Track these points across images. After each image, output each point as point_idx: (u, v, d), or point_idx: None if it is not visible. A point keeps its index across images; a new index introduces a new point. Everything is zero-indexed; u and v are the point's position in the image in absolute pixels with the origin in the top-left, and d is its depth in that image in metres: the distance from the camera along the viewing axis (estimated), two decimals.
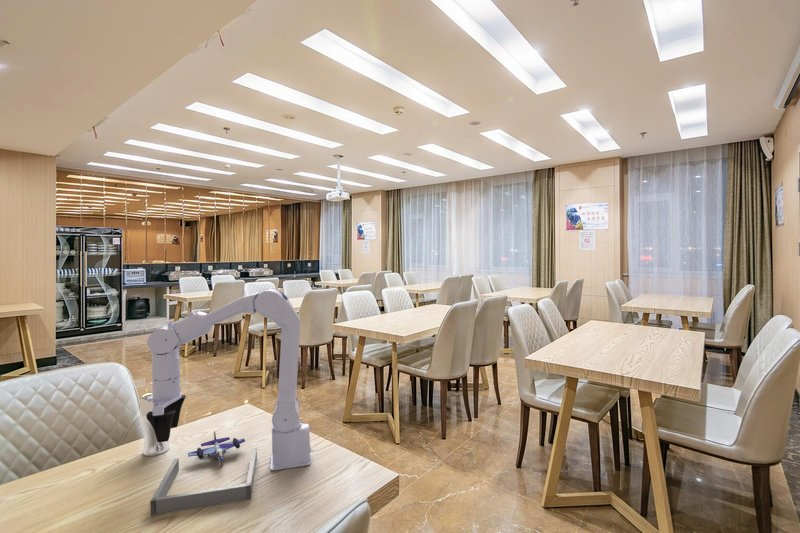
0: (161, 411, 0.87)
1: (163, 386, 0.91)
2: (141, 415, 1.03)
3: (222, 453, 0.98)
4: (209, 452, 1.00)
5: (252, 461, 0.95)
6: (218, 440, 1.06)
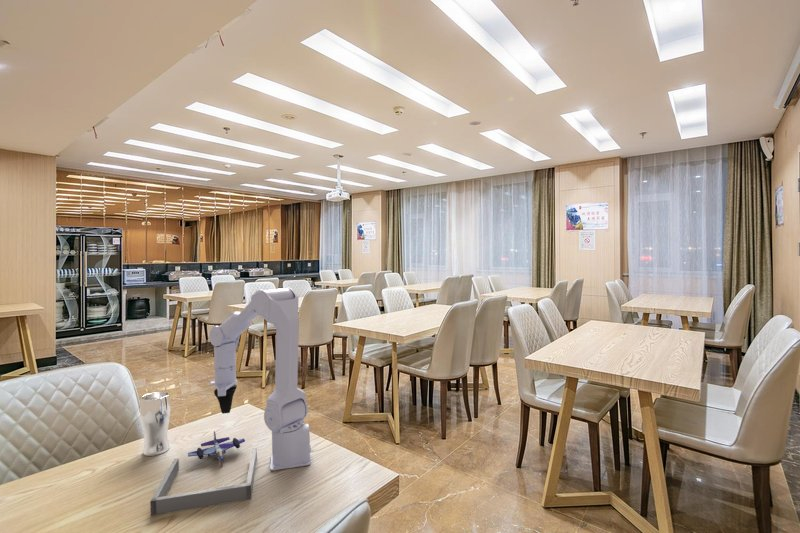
0: (224, 393, 1.08)
1: (224, 373, 1.12)
2: (141, 415, 1.03)
3: (222, 453, 0.98)
4: (209, 452, 1.00)
5: (252, 461, 0.95)
6: (218, 440, 1.06)
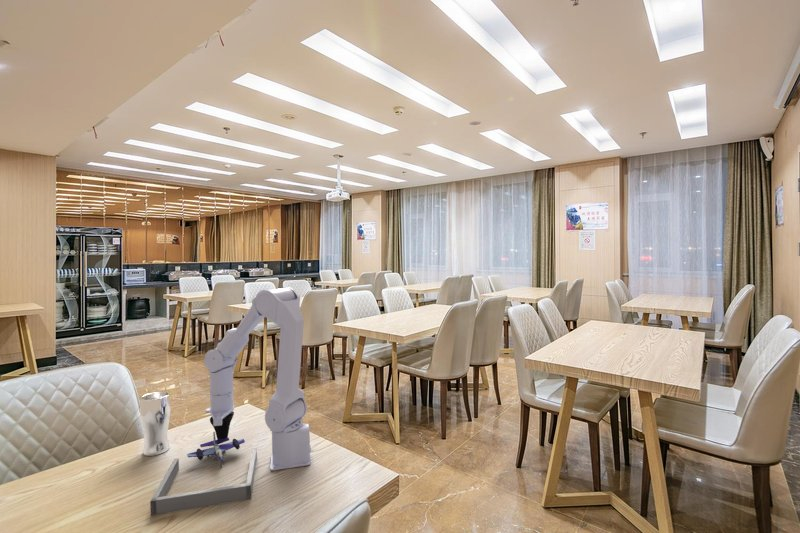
0: (220, 422, 1.01)
1: (220, 400, 1.05)
2: (141, 415, 1.03)
3: (222, 454, 0.98)
4: (209, 453, 0.99)
5: (252, 461, 0.95)
6: (218, 441, 1.06)
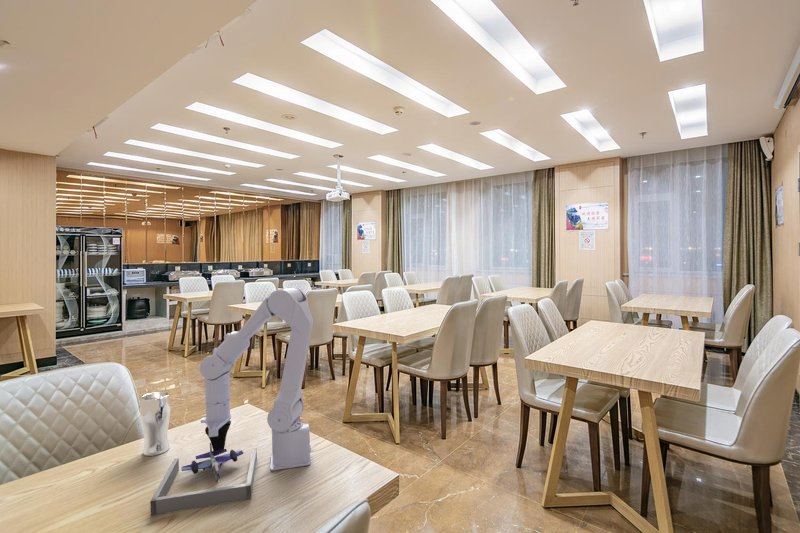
0: (216, 433, 0.95)
1: (216, 409, 0.99)
2: (141, 415, 1.03)
3: (218, 467, 0.92)
4: (204, 466, 0.93)
5: (252, 461, 0.95)
6: (214, 452, 1.00)
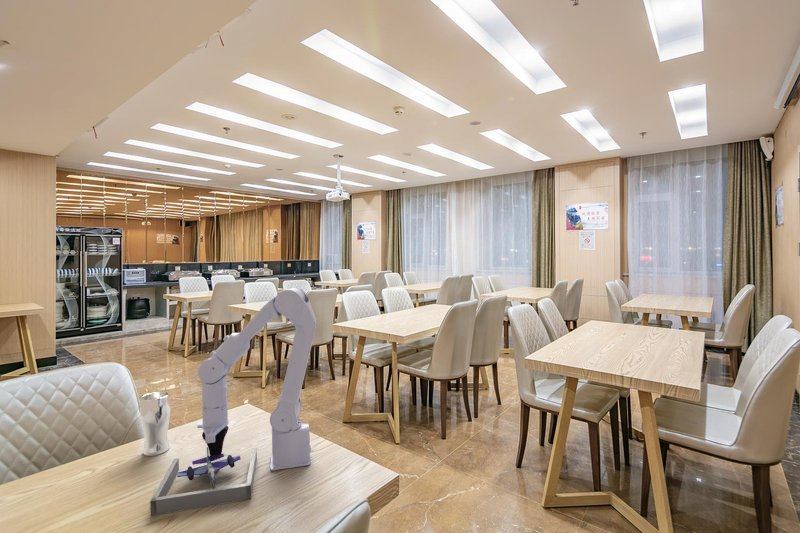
0: (213, 439, 0.92)
1: (213, 414, 0.96)
2: (141, 415, 1.03)
3: (214, 474, 0.89)
4: (200, 472, 0.90)
5: (252, 461, 0.95)
6: (211, 457, 0.97)
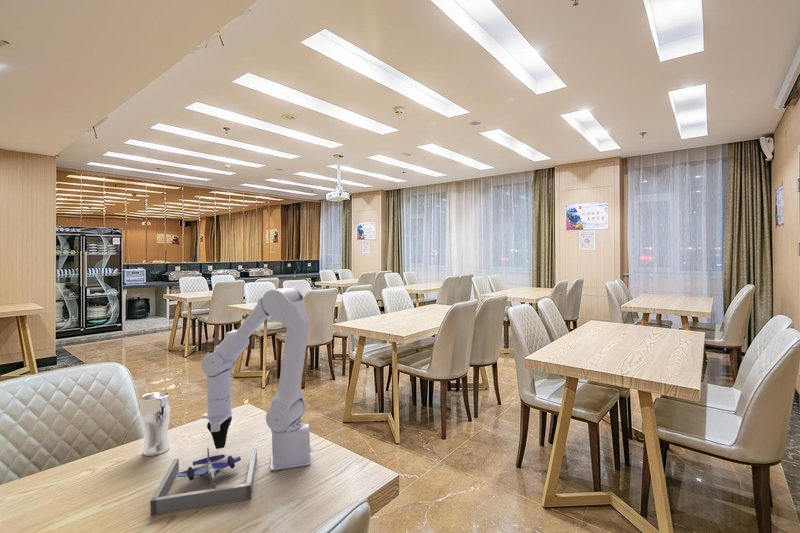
0: (218, 428, 0.98)
1: (218, 405, 1.02)
2: (141, 415, 1.03)
3: (214, 474, 0.89)
4: (200, 472, 0.91)
5: (252, 461, 0.95)
6: (212, 458, 0.97)
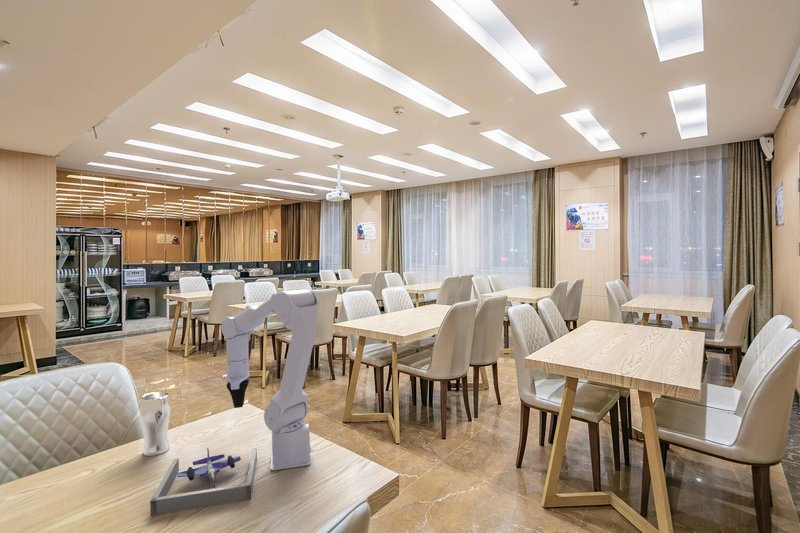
0: (237, 386, 1.04)
1: (237, 366, 1.08)
2: (141, 415, 1.03)
3: (214, 474, 0.89)
4: (200, 472, 0.91)
5: (252, 461, 0.95)
6: (212, 458, 0.97)
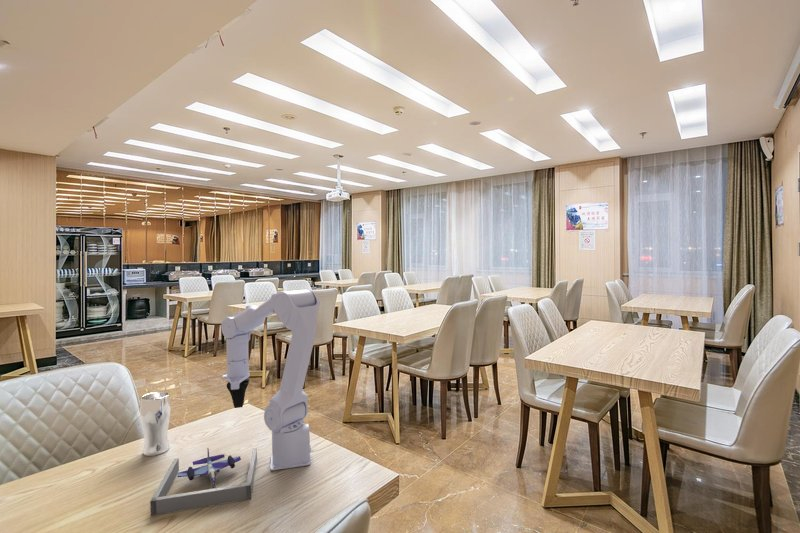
0: (237, 386, 1.04)
1: (237, 366, 1.08)
2: (141, 415, 1.03)
3: (214, 474, 0.89)
4: (201, 472, 0.91)
5: (252, 461, 0.95)
6: (212, 458, 0.97)
